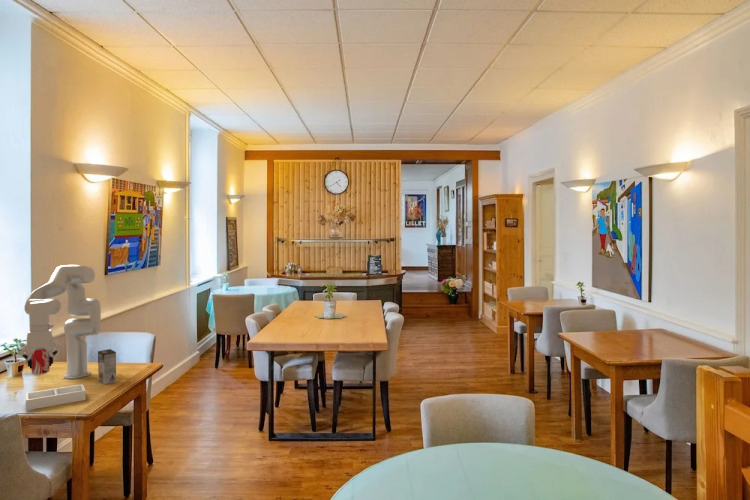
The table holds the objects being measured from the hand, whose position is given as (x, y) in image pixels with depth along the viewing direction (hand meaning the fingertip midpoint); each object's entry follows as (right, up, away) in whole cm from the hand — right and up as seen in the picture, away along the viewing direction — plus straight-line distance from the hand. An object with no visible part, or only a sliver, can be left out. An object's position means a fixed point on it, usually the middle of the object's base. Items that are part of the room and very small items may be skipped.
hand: (40, 366), depth 227 cm
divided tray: (+4, -17, +4) cm, 18 cm away
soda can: (0, -3, 0) cm, 3 cm away
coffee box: (+12, -16, +34) cm, 40 cm away
